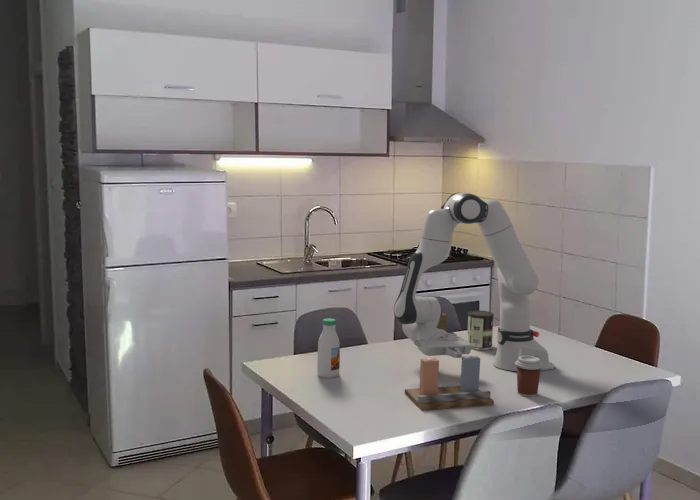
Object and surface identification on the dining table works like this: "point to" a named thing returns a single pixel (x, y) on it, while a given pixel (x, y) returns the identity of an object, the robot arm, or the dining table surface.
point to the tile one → (429, 376)
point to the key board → (449, 398)
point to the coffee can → (480, 329)
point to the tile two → (470, 374)
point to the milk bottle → (328, 350)
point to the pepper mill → (442, 322)
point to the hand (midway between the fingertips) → (458, 355)
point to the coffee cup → (528, 375)
